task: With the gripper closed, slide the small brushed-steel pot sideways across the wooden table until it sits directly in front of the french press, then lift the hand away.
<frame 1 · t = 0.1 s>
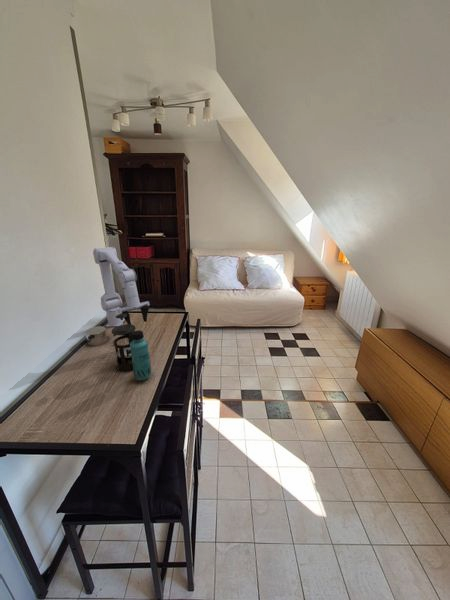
hand: (137, 323, 118), 11 cm above the table, tool pointing down, fingers open, 7 cm apart
pot: (97, 341, 125), on the table
beverage bottle: (143, 378, 97), on the table
french press: (130, 364, 105), on the table
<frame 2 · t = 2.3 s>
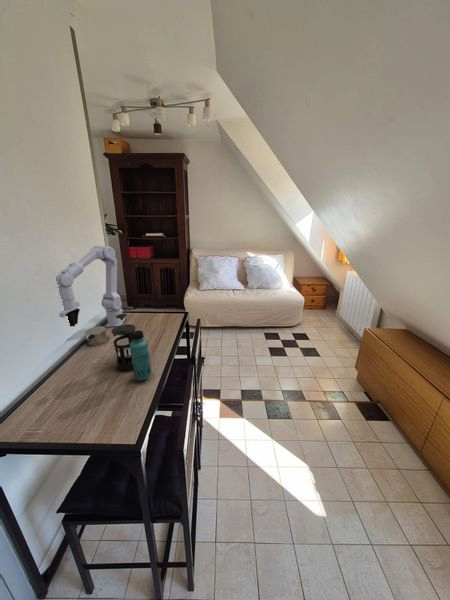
hand: (73, 324, 121), 9 cm above the table, tool pointing down, fingers closed
nothing on the table moved.
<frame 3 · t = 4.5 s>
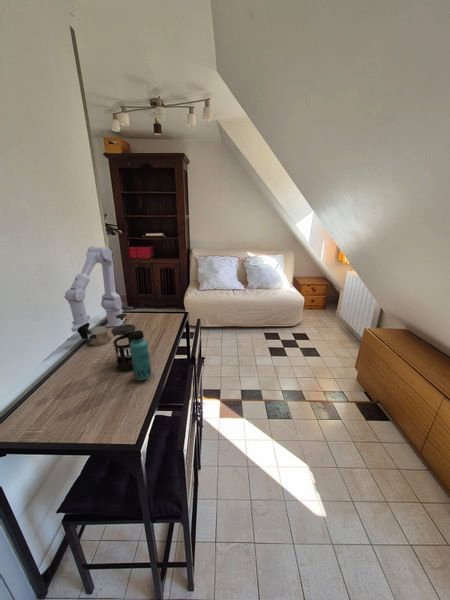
hand: (84, 338, 124), 2 cm above the table, tool pointing down, fingers closed, pressing on pot
pot: (99, 341, 125), on the table, touching gripper
everything else where it was.
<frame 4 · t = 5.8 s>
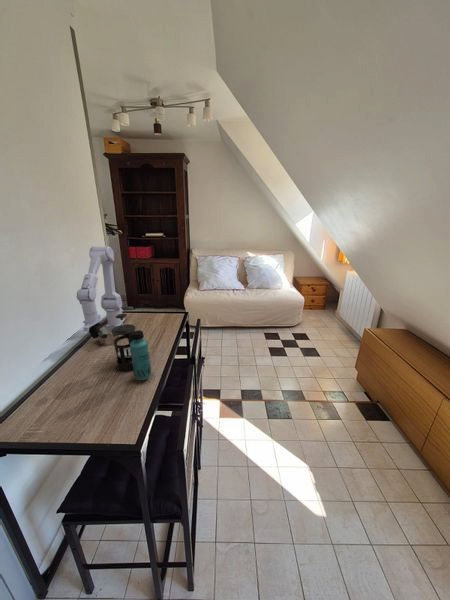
hand: (95, 337, 124), 2 cm above the table, tool pointing down, fingers closed, pressing on pot
pot: (109, 340, 125), on the table, touching gripper
everything else where it was.
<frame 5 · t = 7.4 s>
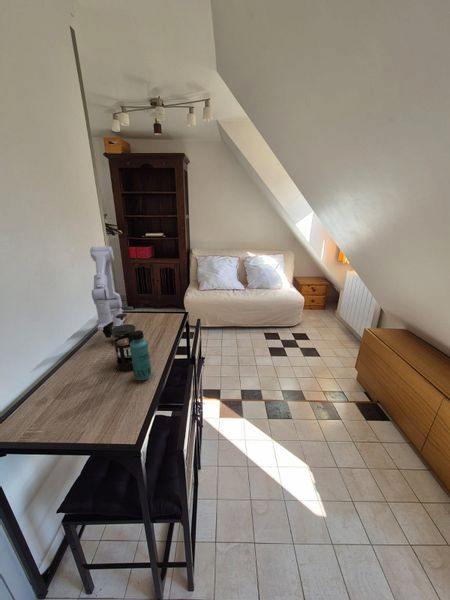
hand: (108, 337, 124), 2 cm above the table, tool pointing down, fingers closed, pressing on pot
pot: (122, 339, 125), on the table, touching gripper
everything else where it was.
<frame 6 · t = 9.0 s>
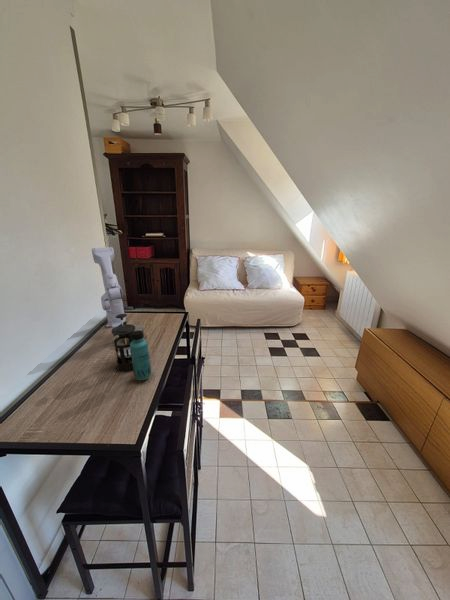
hand: (121, 336, 125), 2 cm above the table, tool pointing down, fingers closed, pressing on pot
pot: (135, 339, 126), on the table, touching gripper
everything else where it was.
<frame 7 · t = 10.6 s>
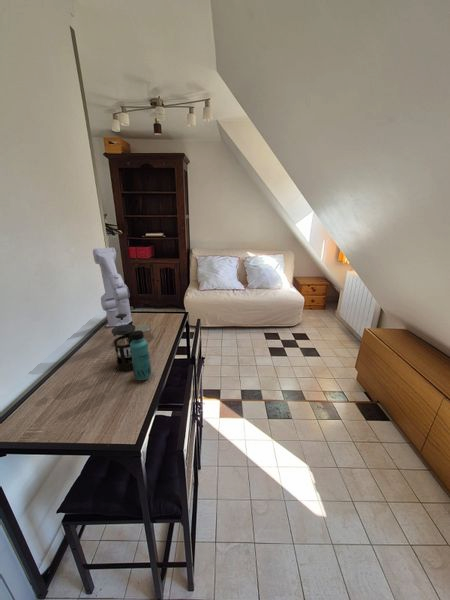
hand: (128, 336, 125), 2 cm above the table, tool pointing down, fingers closed
pot: (142, 338, 126), on the table
everything else where it was.
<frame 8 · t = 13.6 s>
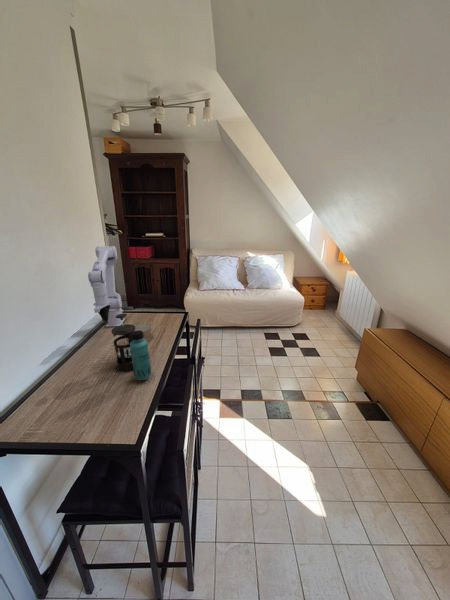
hand: (105, 320, 125), 9 cm above the table, tool pointing down, fingers closed
nothing on the table moved.
at the end: pot inside the target area on the table beside the french press (0.3 cm from its centre), on the table; pot tilted 0°; french press moved 0.2 cm from its start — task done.
